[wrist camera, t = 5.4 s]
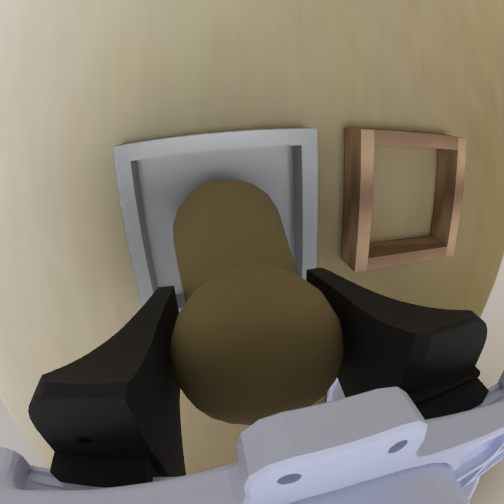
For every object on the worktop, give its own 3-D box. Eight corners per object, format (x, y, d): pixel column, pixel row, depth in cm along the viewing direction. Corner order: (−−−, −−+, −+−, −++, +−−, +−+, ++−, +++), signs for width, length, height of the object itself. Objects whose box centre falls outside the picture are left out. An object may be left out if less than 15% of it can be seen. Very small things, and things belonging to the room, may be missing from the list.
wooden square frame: (436, 245, 26) (453, 255, 24) (341, 258, 25) (354, 272, 22) (446, 135, 22) (466, 138, 20) (344, 127, 21) (360, 129, 18)
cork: (155, 256, 17) (127, 426, 8) (203, 159, 16) (215, 258, 6) (248, 294, 20) (295, 455, 10) (301, 209, 18) (413, 339, 8)
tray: (304, 286, 25) (314, 302, 23) (150, 304, 23) (146, 323, 21) (303, 127, 20) (316, 128, 18) (121, 144, 19) (112, 147, 16)
